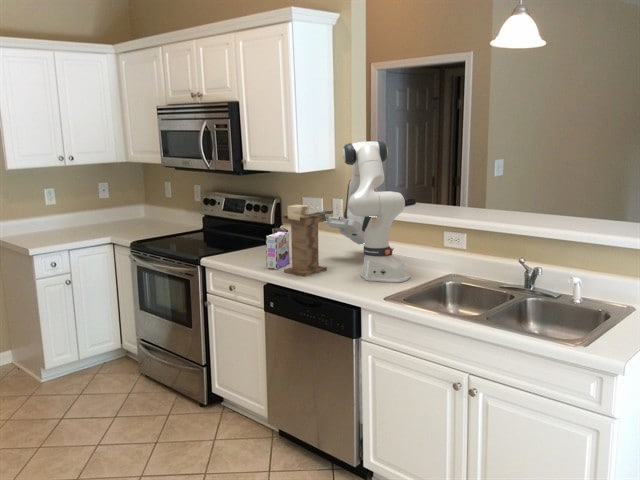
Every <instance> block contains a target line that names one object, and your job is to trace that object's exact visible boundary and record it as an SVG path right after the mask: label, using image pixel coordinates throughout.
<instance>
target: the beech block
mask: <svg viewBox="0 0 640 480" xmlns="http://www.w3.org/2000/svg"><path fill="white" fill-rule="evenodd" d="M318 214H325V215H330V214H334V210H332V209H326V210H321V211H320V210H319V211H314V212H310V206H309V205H305V204H292V205H287V215H288V219H293V220H300V217H306V216H312V215H318Z"/></svg>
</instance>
